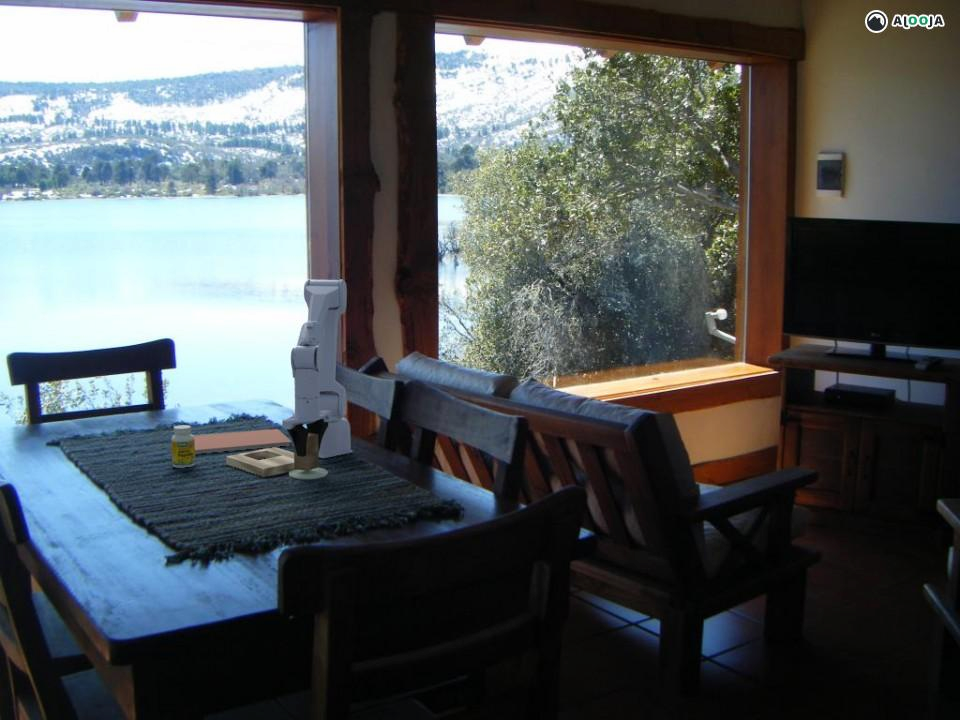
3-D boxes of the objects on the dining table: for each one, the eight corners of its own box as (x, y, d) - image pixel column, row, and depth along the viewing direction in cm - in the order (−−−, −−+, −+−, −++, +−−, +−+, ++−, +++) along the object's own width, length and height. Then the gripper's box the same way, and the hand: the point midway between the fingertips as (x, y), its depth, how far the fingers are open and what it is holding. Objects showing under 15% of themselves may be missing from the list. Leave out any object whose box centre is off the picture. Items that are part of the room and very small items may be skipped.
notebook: (277, 434, 288) (276, 427, 288) (291, 448, 273) (291, 440, 273) (175, 442, 277) (175, 435, 277) (184, 457, 262) (184, 449, 262)
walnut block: (306, 465, 248) (305, 432, 247) (318, 467, 246) (318, 434, 245) (294, 468, 245) (293, 435, 244) (307, 471, 243) (306, 437, 242)
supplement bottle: (191, 461, 256) (190, 423, 255) (198, 466, 252) (197, 427, 250) (169, 464, 253) (167, 425, 252) (176, 469, 249) (174, 430, 247)
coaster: (312, 467, 252) (312, 465, 252) (335, 474, 246) (335, 472, 246) (281, 474, 246) (281, 472, 246) (304, 481, 239) (304, 479, 239)
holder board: (275, 454, 264) (274, 447, 263) (313, 466, 253) (312, 458, 252) (226, 464, 254) (226, 456, 254) (263, 477, 243) (263, 468, 242)
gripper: (315, 390, 251) (316, 445, 253) (272, 399, 239) (273, 457, 241) (338, 393, 247) (338, 449, 249) (294, 403, 235) (295, 462, 237)
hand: (308, 454), depth 245 cm, fingers closed on walnut block, 4 cm apart
